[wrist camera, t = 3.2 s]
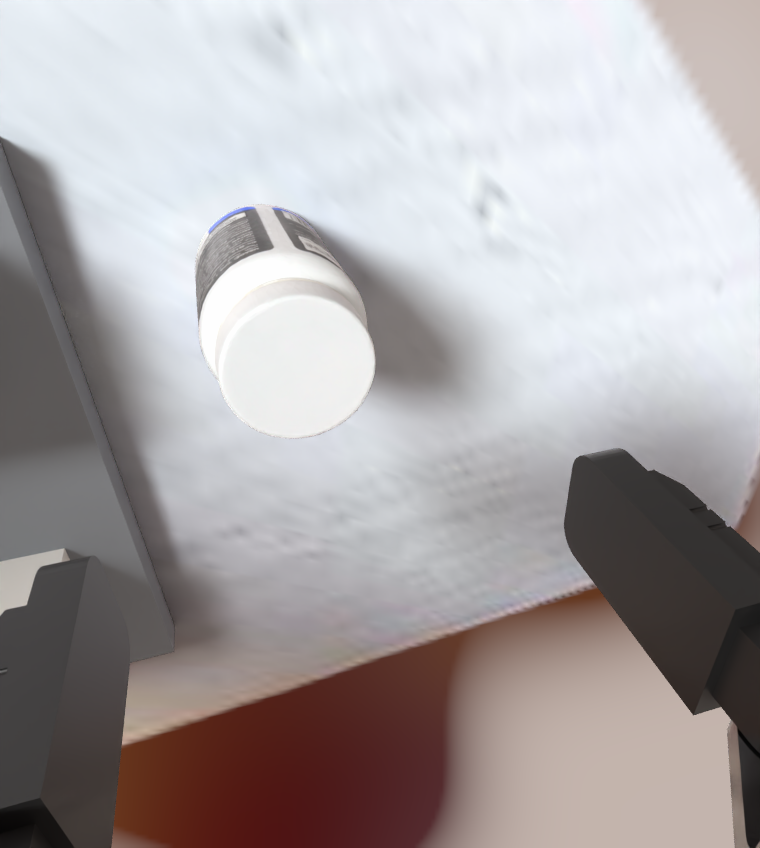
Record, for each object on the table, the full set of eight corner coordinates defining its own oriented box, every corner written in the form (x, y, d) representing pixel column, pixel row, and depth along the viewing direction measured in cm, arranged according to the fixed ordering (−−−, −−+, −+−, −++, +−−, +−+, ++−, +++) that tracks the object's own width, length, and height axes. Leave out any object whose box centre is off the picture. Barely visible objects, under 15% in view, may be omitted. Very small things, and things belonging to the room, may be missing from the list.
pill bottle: (204, 336, 23) (213, 464, 16) (185, 204, 20) (184, 288, 13) (330, 324, 24) (389, 440, 17) (326, 198, 21) (393, 273, 14)
